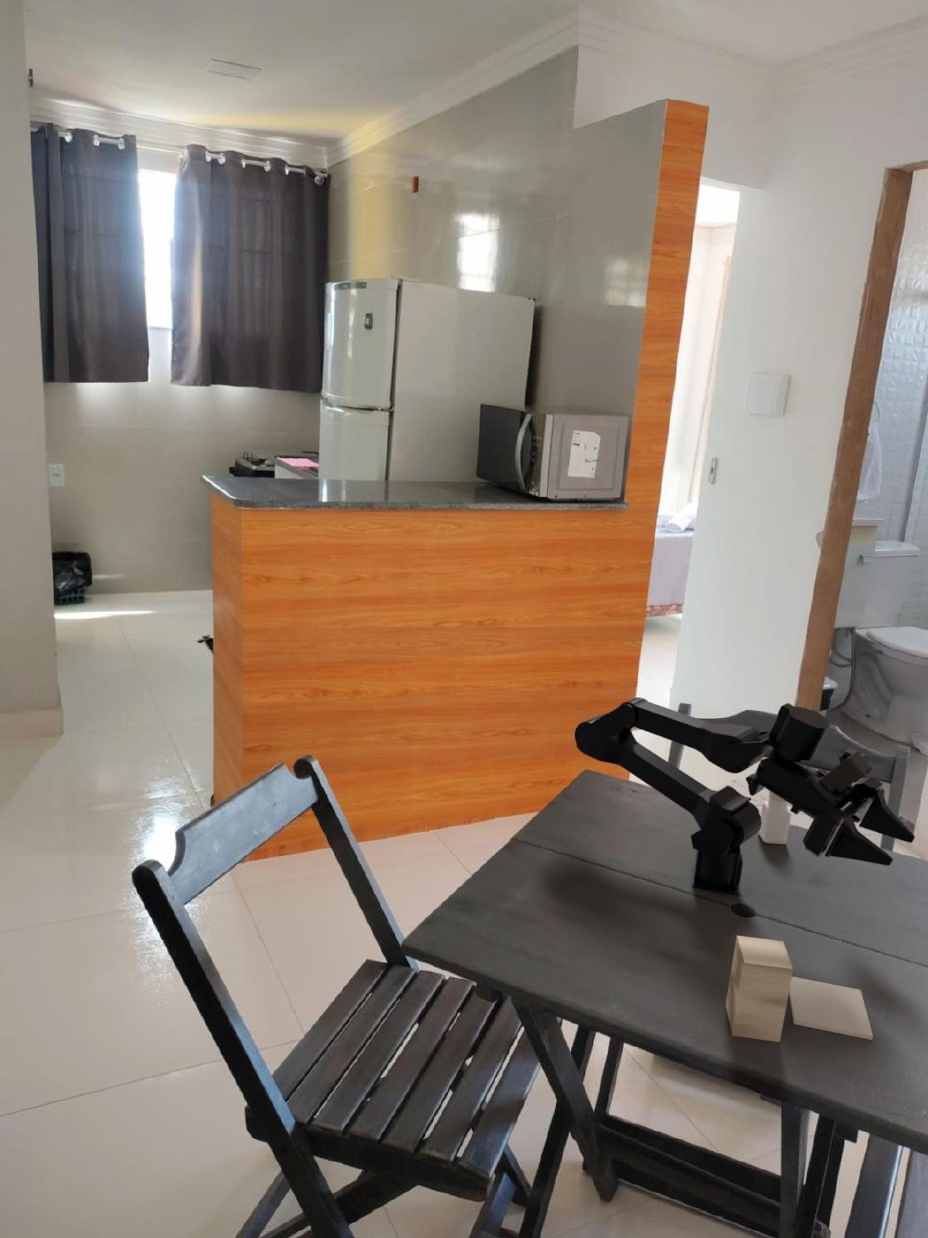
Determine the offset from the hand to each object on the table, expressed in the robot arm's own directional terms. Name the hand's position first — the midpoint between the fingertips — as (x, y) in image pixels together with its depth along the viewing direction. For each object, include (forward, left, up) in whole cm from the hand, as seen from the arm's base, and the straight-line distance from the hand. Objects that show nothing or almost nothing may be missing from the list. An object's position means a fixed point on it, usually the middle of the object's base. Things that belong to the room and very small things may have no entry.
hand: (902, 851), depth 126 cm
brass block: (-18, -21, -16) cm, 32 cm away
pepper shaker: (-12, +30, -16) cm, 36 cm away
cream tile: (-9, -15, -16) cm, 24 cm away
